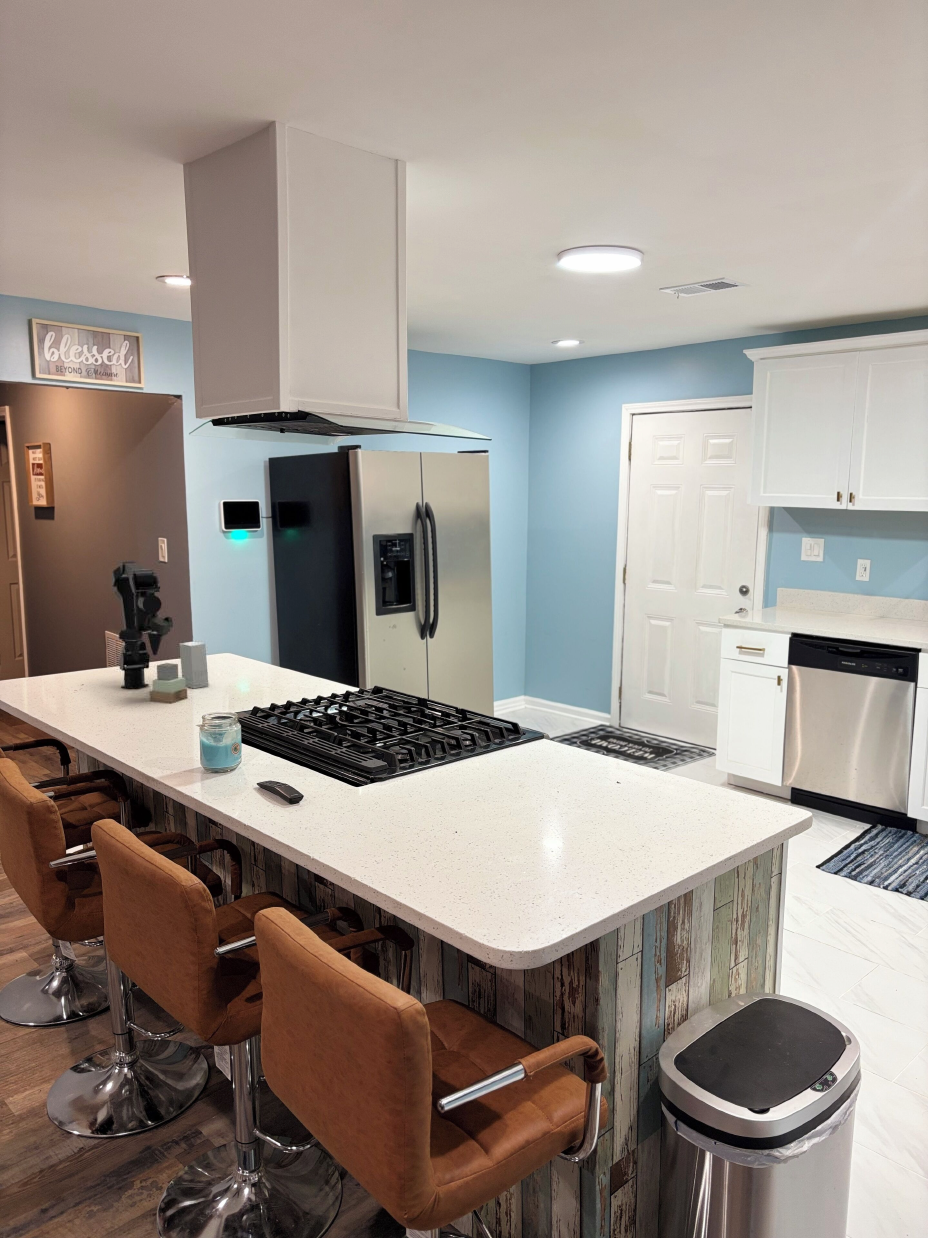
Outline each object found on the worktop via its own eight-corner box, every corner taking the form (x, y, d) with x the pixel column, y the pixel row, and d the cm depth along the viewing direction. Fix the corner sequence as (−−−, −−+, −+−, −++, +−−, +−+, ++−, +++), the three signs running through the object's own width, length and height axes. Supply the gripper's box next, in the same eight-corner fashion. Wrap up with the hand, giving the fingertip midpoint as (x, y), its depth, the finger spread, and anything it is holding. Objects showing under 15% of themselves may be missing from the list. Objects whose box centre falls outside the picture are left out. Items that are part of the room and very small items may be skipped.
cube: (166, 676, 287) (166, 663, 287) (178, 678, 286) (177, 664, 285) (157, 679, 283) (156, 665, 283) (168, 680, 282) (168, 666, 281)
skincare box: (208, 686, 304) (207, 643, 302) (192, 689, 300) (190, 645, 298) (197, 682, 310) (195, 640, 308) (180, 685, 306) (178, 642, 304)
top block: (167, 686, 289) (167, 676, 289) (185, 688, 287) (185, 677, 286) (152, 691, 283) (152, 680, 282) (171, 693, 280) (170, 682, 280)
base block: (166, 697, 290) (165, 686, 290) (187, 699, 287) (186, 688, 287) (150, 702, 283) (149, 691, 282) (171, 704, 280) (171, 693, 279)
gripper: (147, 615, 274) (149, 665, 276) (183, 607, 292) (185, 654, 294) (116, 612, 277) (118, 662, 280) (154, 605, 295) (155, 651, 297)
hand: (146, 657), depth 288 cm, fingers open, 9 cm apart
